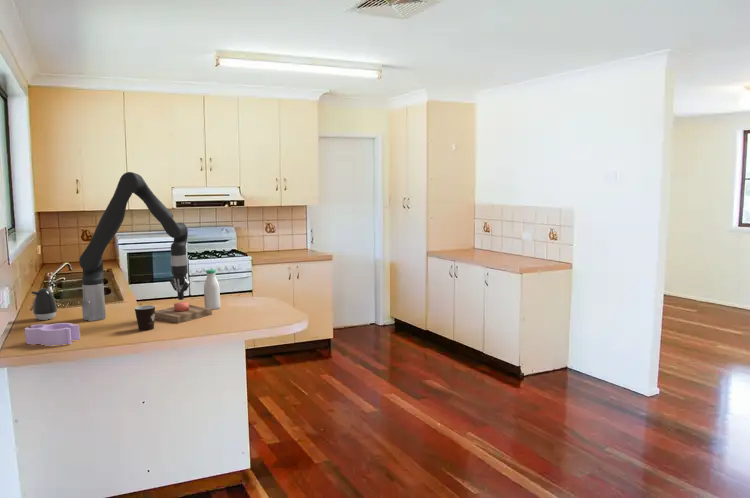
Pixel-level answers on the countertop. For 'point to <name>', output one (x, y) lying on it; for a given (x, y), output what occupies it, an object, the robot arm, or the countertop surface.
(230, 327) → the countertop surface
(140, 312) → the coffee mug
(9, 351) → the countertop surface
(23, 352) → the countertop surface
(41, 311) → the pump dispenser
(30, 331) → the purple low wavy piece
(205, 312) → the wooden cutting board
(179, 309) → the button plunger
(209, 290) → the milk bottle
